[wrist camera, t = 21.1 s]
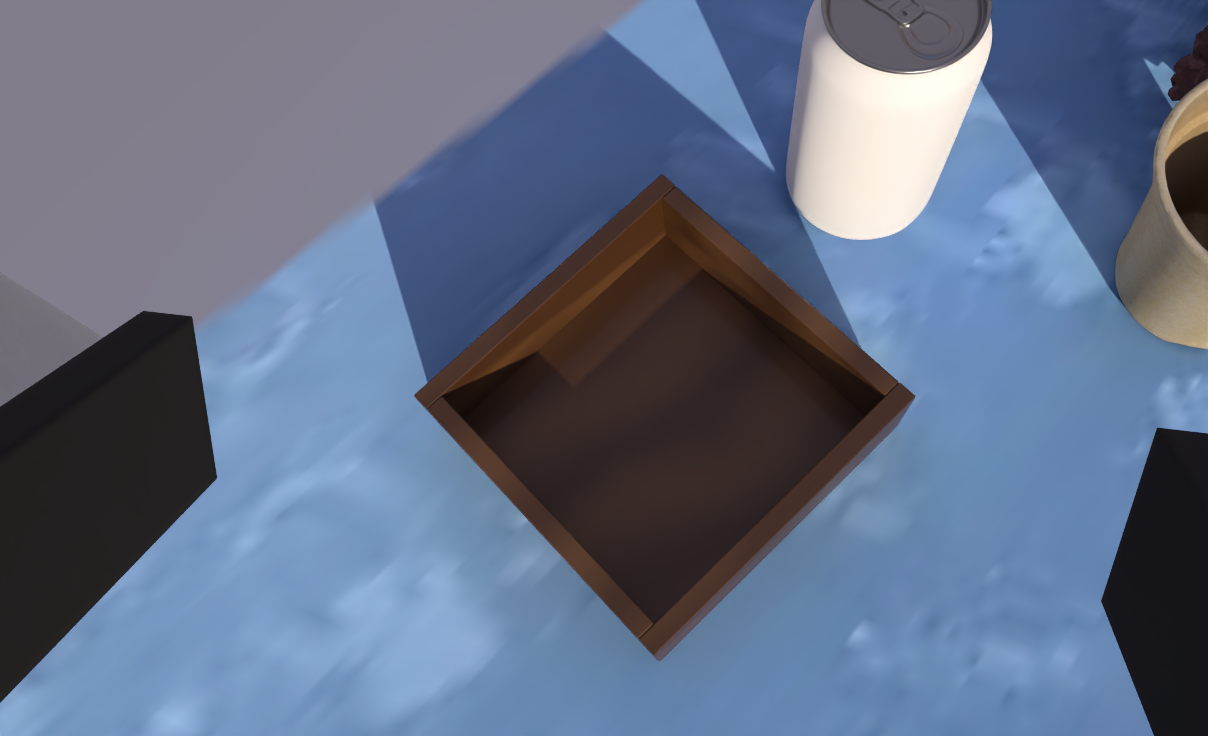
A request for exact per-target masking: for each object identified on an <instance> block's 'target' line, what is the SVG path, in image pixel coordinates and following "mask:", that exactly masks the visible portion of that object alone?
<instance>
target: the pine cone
mask: <svg viewBox="0 0 1208 736" xmlns="http://www.w3.org/2000/svg"><path fill="white" fill-rule="evenodd" d="M1174 69H1175V72H1176V74H1174V75H1173V77H1172V78H1171V82H1172V86H1173V87H1172V88H1170V89H1169V92H1168V95H1169V97H1170V98H1171V99H1172V101H1177V100H1181V99H1182V98H1183V97H1184V96H1185V95H1186V94H1187V93H1188V92H1189V91H1191V90H1192V89H1193V88H1194V87H1196V86H1197V85H1199V84H1200V83H1201V82H1203V81H1205V80H1206V79H1208V26H1207V27H1206V28H1205V29H1204V30H1203V31H1201V32H1200V33H1198V34H1197V35H1196V39H1195V43H1194V48H1193V52H1192V53H1191V54H1189V55H1187V56H1185V57H1183V58H1181V59H1180V60H1179V61H1178V62H1177V63H1176V65H1175V66H1174Z"/></svg>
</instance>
